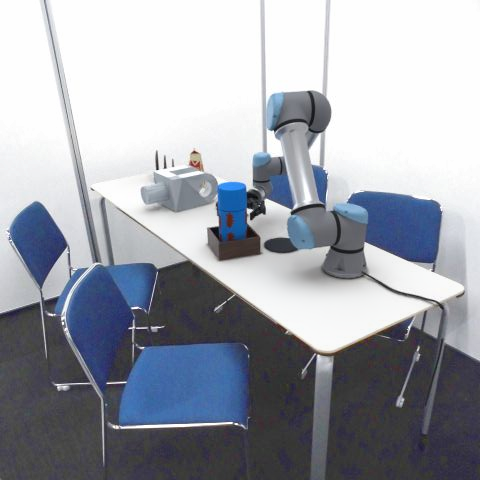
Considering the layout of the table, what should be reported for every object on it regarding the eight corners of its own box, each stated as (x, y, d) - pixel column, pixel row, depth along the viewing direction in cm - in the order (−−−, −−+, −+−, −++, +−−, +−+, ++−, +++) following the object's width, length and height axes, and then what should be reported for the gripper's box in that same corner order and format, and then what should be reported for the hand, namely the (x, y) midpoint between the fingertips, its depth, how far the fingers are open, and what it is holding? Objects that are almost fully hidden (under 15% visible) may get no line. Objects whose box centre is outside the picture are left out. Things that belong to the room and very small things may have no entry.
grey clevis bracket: (198, 191, 247) (196, 162, 239) (218, 201, 234) (217, 170, 226) (138, 206, 230) (133, 175, 222) (156, 216, 217) (152, 184, 209)
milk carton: (204, 187, 254) (202, 148, 243) (187, 187, 254) (184, 149, 243) (206, 182, 262) (203, 144, 251) (189, 182, 262) (186, 145, 251)
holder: (260, 254, 181) (260, 237, 177) (219, 260, 177) (218, 243, 173) (246, 238, 194) (246, 222, 191) (207, 243, 190) (206, 227, 186)
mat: (305, 249, 183) (305, 248, 183) (272, 255, 180) (272, 253, 180) (291, 236, 195) (291, 235, 194) (259, 241, 191) (259, 240, 191)
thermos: (244, 255, 180) (243, 191, 167) (217, 253, 182) (213, 189, 168) (249, 244, 189) (248, 182, 175) (223, 242, 191) (221, 181, 177)
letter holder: (157, 182, 263) (154, 156, 255) (158, 172, 279) (155, 148, 272) (175, 181, 263) (172, 155, 256) (175, 172, 280) (172, 147, 272)
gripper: (281, 209, 194) (264, 228, 177) (226, 203, 202) (205, 220, 186) (282, 192, 190) (265, 209, 173) (225, 186, 198) (204, 201, 181)
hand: (234, 215), depth 179 cm, fingers open, 13 cm apart
